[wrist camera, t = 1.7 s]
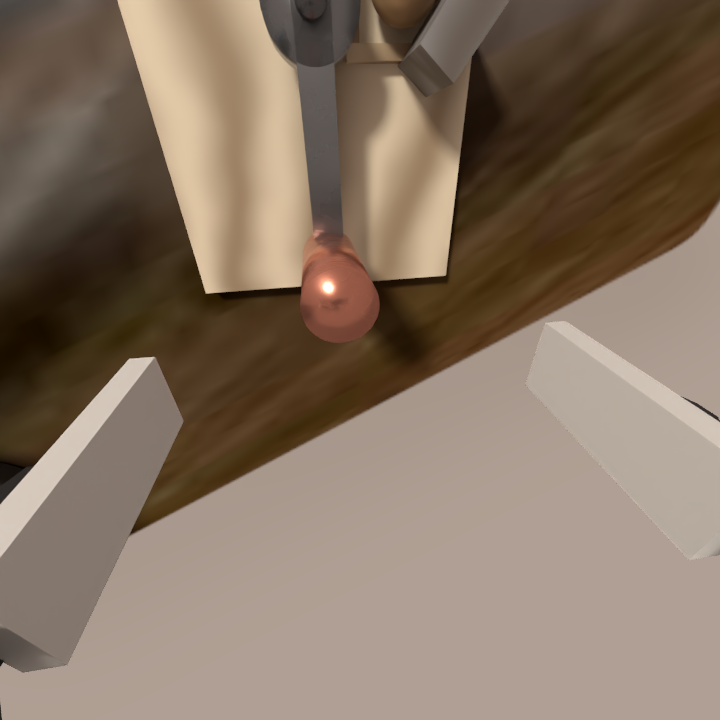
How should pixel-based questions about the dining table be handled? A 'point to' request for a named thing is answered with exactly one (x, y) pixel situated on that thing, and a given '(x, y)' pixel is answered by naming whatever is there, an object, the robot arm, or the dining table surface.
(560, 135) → the dining table surface
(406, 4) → the walnut
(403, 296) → the dining table surface
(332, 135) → the lever
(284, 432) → the dining table surface
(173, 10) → the tapered cream board
